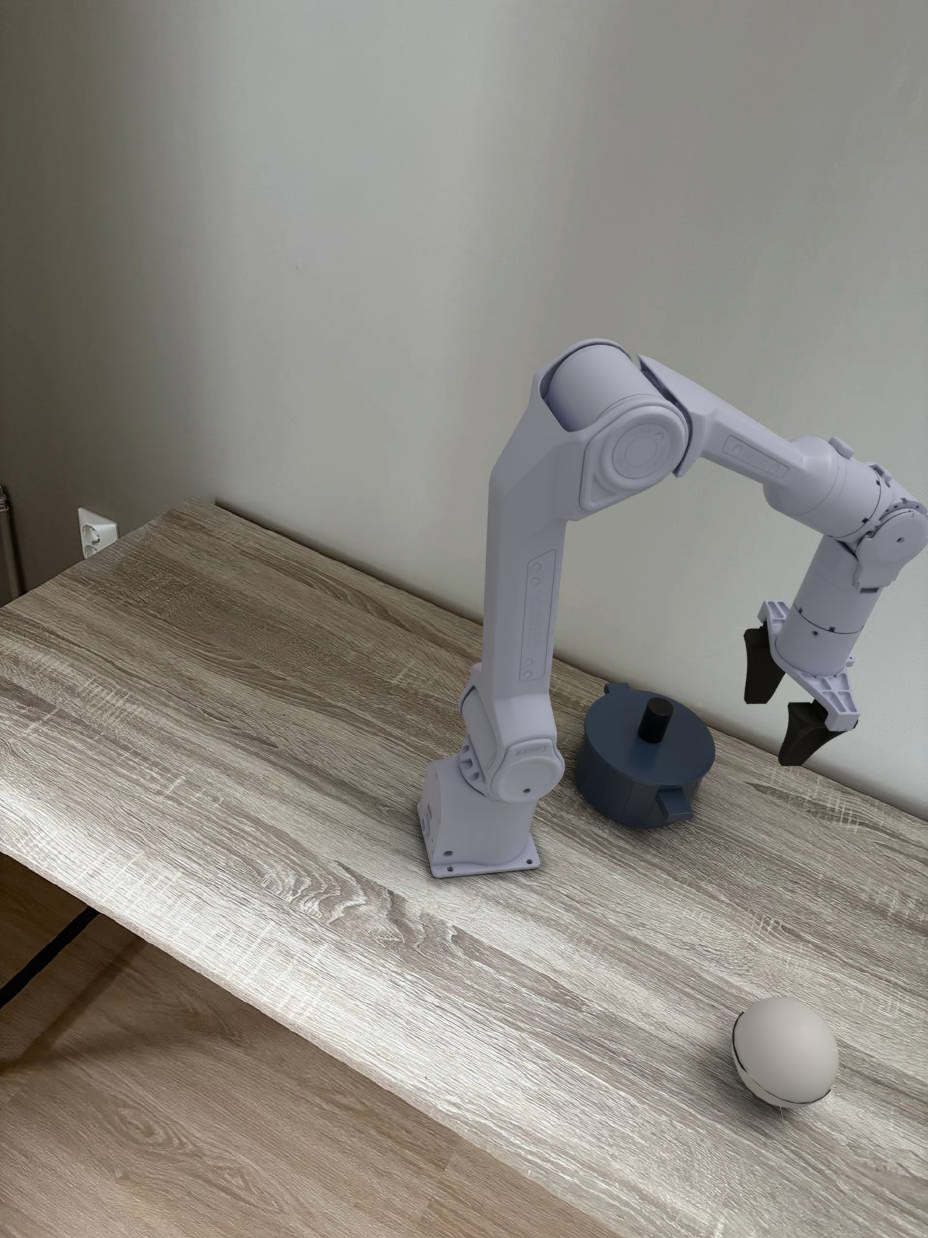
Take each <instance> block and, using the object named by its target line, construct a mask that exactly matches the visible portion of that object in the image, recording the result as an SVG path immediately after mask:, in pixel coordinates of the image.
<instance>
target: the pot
mask: <svg viewBox="0 0 928 1238" xmlns="http://www.w3.org/2000/svg"><path fill="white" fill-rule="evenodd" d="M620 690H632V688H631V685H630V684H629V682H627V681H626V682H606V683H605V684H604V688H603V693H604V695H606V694H608V693H611V692H615V691H620ZM583 732H584V733H583V736H582V739H581V742H580V745H579V747H578V751H577V754H576V759H575V766H574V777H575V782H576V785H577V787H578V790H579V792H580V794H581V795H582V796H583V798H584V799H585V800H586V801H587V802H588V804H590V806H591V807H593V809H595V810H596V811H597V812H599V813H600V814H602V815H604V816H605V817H607V818H608V819H610V820H612V821H614V822H617V823H619V824H621V825H624V826H628V827H633V828H638V829H658V828H664V827H667V826H671V825H672V824H674V823H676V822H682V821H683V822H684V821H691V820H692V818H693V816H694V810H693V808H692V806H691V805H692V803H693V802H694V800H695V797H696V795H697V792H698V790H699V788H700V785H701V783H702V781H703V778H704V777H703V778H702V779H700V780H699V781H697V782H695V783H693V784H690V785H687V786H683V787H677V788H657V787H651V786H646V785H643V784H639V783H636V782H634V781H631V780H629V779H627V778H625V777H623V776H621V775H619V774H617V773H616V772H614V771H613V770H611V769H610V768H609V767H607V766H606V765H605V764H604V763H603V762H602V761H601V760H600V759H599V758H598V757H597V756H596V755H595V754H594V752H593V751H592V749H591V748H590V746H589V744H588V742H587V739H586V736H585V731H583Z"/></svg>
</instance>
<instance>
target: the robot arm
mask: <svg viewBox="0 0 928 1238" xmlns="http://www.w3.org/2000/svg"><path fill="white" fill-rule="evenodd" d="M635 356H636V357H637V360H638V362H639V366H640V369H639V368H638V366H637V365H636V364H635V363H634V362H633V360H632V358H631V355H630V354H629V353H628V351H626V349H625V348H624V346H621V344H619V343H617V342H616V341H614V340H612V339H611V340H610V339H607V338H602V337H594V338H587V339H583V340H580V341H577V342H575V343H573V344H572V345H570V346H569V347H567V348H566V349H564V350H563V351H561V352H560V353H559V354H558V355H557V356H556V357H554V358H552V360H551V361H549V362H548V363H546V364H545V365H544V366H542V368H541V369H539V370H538V371H537V372H535V373H534V374H533V377H532V382H531V387H530V393H529V398H528V399H529V400H528V403H527V404H528V405H527V407H526V409H525V411H524V412H523V414H522V415H521V417H520V419H519V421H518V422H517V425H516V426H515V428H514V430H513V432H512V433H511V435H510V437H509V439H508V440H507V442H506V444H505V446H504V447H503V449H502V451H501V453H500V455H499V457H498V458H497V460H496V462H495V464H494V466H493V467H492V469H491V472H490V476H489V479H488V494H487V495H488V496H487V519H486V520H487V521H486V545H485V567H484V569H485V570H484V593H483V621H482V642H481V643H482V645H481V661H480V662H477V663H475V664H472V665H471V666H470V674H469V681H468V683H467V685H466V686H465V688H464V690H463V691H462V693H461V694H460V697H459V699H458V706H457V707H458V708H457V709H458V714H459V715H460V717H461V721H463V722H464V725H465V728H466V732H465V739H464V741H463V744H462V746H461V749H460V750H459V751H457V752H456V753H454V754H452V755H450V756H446V757H444V758H440V759H435V760H430V761H429V762H428V763H427V765H426V767H425V774H424V779H423V786H422V791H421V795H420V801H419V802H418V803H417V805H416V811H417V816H418V819H419V823H420V827H421V832H422V836H423V841H424V844H425V848H426V849H425V850H426V854H427V857H428V861H429V866H430V871H431V874H432V876H433V877H434V878H438V879H439V878H450V877H451V878H452V877H461V876H470V875H471V876H472V875H482V874H483V875H484V874H492V873H503V872H513V871H514V872H515V871H525V870H535V869H538V868H540V866H541V859H540V856H539V853H538V850H537V848H536V844H535V841H534V839H533V836H532V832H531V827H532V824H533V820H534V817H535V813H536V810H537V806H538V802H539V800H540V799H541V798H543V797H544V796H546V795H547V794H549V793H550V792H551V791H552V790H553V789H554V788H556V787H557V785H558V784H559V783H560V781H561V780H562V779H563V777H564V773H565V769H566V763H565V759H564V757H563V755H562V754H561V751H560V750H559V749H558V747H557V741H558V740H557V739H558V731H557V727H556V721H555V717H554V711H553V707H552V703H551V698H550V697H551V696H550V685H551V676H552V667H553V656H554V646H555V635H556V627H557V616H558V607H559V598H560V597H559V596H560V588H561V578H562V567H563V559H564V549H565V540H566V531H567V523H568V521H571V522H579V521H580V520H584V519H585V518H587V517H590V516H592V515H594V514H597V513H598V512H601V511H603V510H605V509H608V508H609V507H610V508H611V507H612V506H614V505H616V504H619V503H621V502H623V501H625V500H627V499H630V498H632V497H634V496H637V495H639V494H641V493H644V492H645V491H647V490H649V489H651V488H653V487H654V486H656V485H658V484H659V483H661V482H662V481H664V480H666V478H667V477H668V476H669V475H670V474H672V476H674V477H675V478H676V479H678V478H679V479H680V478H683V477H684V476H685V475H686V474H687V473H688V472H689V470H691V468H692V467H693V466H694V464H695V463H696V462H697V460H698V459H699V458H702V459H705V460H707V461H709V462H711V463H713V464H716V465H718V466H720V467H723V468H725V469H728V470H730V471H732V472H734V473H736V474H739V475H740V476H742V477H743V476H744V477H746V478H747V479H750V480H752V481H755V482H757V483H759V484H761V485H762V491H763V495H764V499H765V501H766V503H767V504H768V506H770V508H772V509H773V510H774V511H776V512H778V513H780V514H782V515H784V516H785V517H788V518H790V519H792V520H794V521H796V522H798V523H800V524H802V525H804V526H805V527H808V528H809V529H811V530H814V531H816V532H818V533H819V534H822V536H821V539H820V542H819V543H818V546H817V548H816V550H815V553H814V554H813V557H812V560H811V561H810V564H809V566H808V568H807V570H806V572H805V575H804V577H803V580H802V582H801V583H800V586H799V588H798V591H797V593H796V595H795V597H794V599H793V602H792V603H791V606H788V604H787V603H786V601H785V600H780V599H779V600H777V599H776V600H774V599H773V600H771V599H770V600H769V599H764V600H763V602H762V603H761V606H760V609H759V611H758V612H757V613H758V614H757V617H756V618H757V619H758V621H759V623H761V624H762V625H760V626H759V627H751V628H747V629H746V630H745V631H744V633H743V635H742V637H743V640H744V645H745V651H746V674H745V683H744V691H743V692H744V693H743V701H744V703H745V705H767V704H768V703H769V702H770V700H771V699H772V698H773V696H774V694H775V693H776V691H777V689H778V688H779V686H780V683H781V682H782V680H783V678H784V677H785V675H788V676H789V678H791V679H792V680H793V681H794V682H796V683H797V684H798V685H799V686H800V687H801V688H802V689H803V690H804V691H806V693H808V694H809V695H810V696H811V697H812V698H813V700H812V701H811V702H810V701H789V702H788V703H787V715H788V716H787V719H788V720H787V721H788V722H787V728H786V732H785V736H784V738H783V741H782V743H781V746H780V749H779V751H778V756H777V762H778V763H779V766H781V767H801V766H803V764H805V763H806V762H807V761H808V760H809V759H810V758H811V757H812V756H813V755H814V754H815V753H816V752H817V751H818V750H819V749H821V748H822V747H823V746H824V745H826V744H827V743H829V742H830V741H832V740H834V739H835V738H837V737H839V736H841V735H843V734H845V733H847V732H851V731H853V730H854V729H856V727H857V725H858V723H859V717H860V716H861V712H860V710H859V708H858V706H857V705H856V703H855V700H854V696H853V691H852V687H851V683H850V677H849V672H848V668H851V667H853V665H854V664H855V661H856V659H855V656H854V655H853V653H852V651H853V649H854V647H855V645H856V643H857V641H858V640H859V637H860V635H861V633H862V631H863V629H864V627H865V626H866V623H867V622H868V619H869V617H870V616H871V614H872V612H873V609H874V608H875V606H876V604H877V602H878V600H879V598H880V596H881V595H882V592H883V590H884V588H886V587H887V588H888V587H889V586H890V585H891V584H892V582H896V580H897V578H898V576H899V574H900V573H901V571H902V569H903V568H904V567H905V566H906V565H907V564H908V563H909V562H911V561H912V560H913V559H915V558H916V557H917V556H918V555H919V554H921V552H922V551H923V550H924V549H925V548H926V546H927V545H928V510H927V507H926V506H925V505H924V504H923V503H921V502H920V501H919V499H917V498H916V497H915V496H913V494H912V493H910V492H909V491H908V489H906V488H905V487H904V486H903V485H901V484H900V483H899V482H898V481H897V480H896V479H895V478H894V477H893V474H892V473H891V472H890V471H889V470H887V469H886V467H883V466H882V465H880V464H879V463H878V462H876V461H859V460H858V459H856V458H855V457H854V456H853V455H855V449H853V448H852V447H851V446H850V445H849V444H848V443H847V442H846V441H844V439H843V440H842V439H841V438H839V437H837V436H836V435H832V437H830V439H828V441H826V440H824V439H822V438H820V437H818V436H815V435H802V436H797V437H794V438H793V439H791V440H786V439H785V438H783V437H782V436H780V435H778V434H777V433H775V432H774V431H773V430H771V429H769V428H767V427H766V426H765V425H763V424H761V423H759V422H758V421H756V420H755V419H753V418H751V417H750V416H749V415H747V414H745V413H744V412H743V411H741V410H739V409H738V408H736V407H734V406H733V405H732V404H729V403H728V402H727V401H725V400H724V399H722V398H720V397H719V396H718V395H715V394H714V393H712V392H711V391H709V390H708V389H707V388H705V387H703V386H702V385H700V384H698V383H697V382H695V381H693V380H692V379H690V378H688V377H686V376H684V375H682V374H681V373H679V372H677V371H675V370H673V369H672V368H670V367H668V366H666V365H665V364H662V363H661V362H659V361H658V360H656V359H653V358H651V357H650V356H648V355H647V356H646V355H643V354H640V353H636V355H635ZM449 870H450V871H449Z"/></svg>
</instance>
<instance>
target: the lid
mask: <svg viewBox="0 0 928 1238" xmlns="http://www.w3.org/2000/svg"><path fill="white" fill-rule="evenodd" d="M583 730H584V731H583V732H585V736H586V739H587V742H588V744H589V746H590V748H591V749H592V751H593V752H594V754H595V755H596V756H597V757H598V758H599V759H600V760H601V761H602V762H603V763H604V764H605V765H606V766H607V767H609V768H610V769H611V770H613V771H614V772H616V773H617V774H619V775H621V776H623V777H625V778H627V779H629V780H631V781H634V782H636V783H639V784H643V785H646V786H651V787H657V788H677V787H683V786H687V785H690V784H693V783H695V782H697V781H699V780H700V779H702V778H704V777H705V776H706V775H708V773H709V772H710V770H711V769H712V767H713V765H714V763H715V758H716V750H717V749H716V743H715V739H714V737H713V734H712V732H711V731H710V729H709V727H708V726H707V724H706V723H705V722H704V721H703V720H702V718H700V716H698V715H697V714H696V713H695V712H694V711H693V710H691V709H690V708H689V707H687V706H685V705H684V704H683V703H681V702H679V701H677V700H675V699H674V698H671V697H669V696H666V695H663V694H661V693H657V692H654V691H649V690H641V689H631V690H620V691H615V692H611V693H608V694H606V695H605V694H603V695H602V696H600V697H599V698H598V699H596V700H594V702H593V703H592V704H591V705H590V707H589V708H588V710H587V712H586V715H585V717H584V722H583ZM702 780H703V779H702Z"/></svg>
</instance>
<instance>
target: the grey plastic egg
mask: <svg viewBox="0 0 928 1238" xmlns="http://www.w3.org/2000/svg"><path fill="white" fill-rule="evenodd" d="M838 1047H839V1046H838V1042H837V1040H836V1037H835V1034H834V1032H833V1030H832V1028H831V1026H830V1025H829V1023H828V1022H827V1021H826V1020H825V1018H824V1017H823V1015H821V1014H820V1013H819V1012H818V1011H817V1010H816V1009H814V1008H813V1007H812V1006H810V1005H809V1004H807V1003H805V1002H803V1001H802V1000H799V999H795V998H792V997H788V996H771V997H765V998H763V999H760V1000H758V1001H756V1002H753V1003H752V1004H751V1005H750V1006H749V1007H748V1008H747V1009H746V1010H745V1011H741V1012H740V1014H738V1016H737V1018H736V1019H735V1022H734V1024H733V1027H732V1033H731V1055H732V1059H733V1061H734V1064H735V1067H736V1070H737V1073H738V1076H739V1077H740V1078H741V1080H742V1081H743V1083H744V1085H745V1086H746V1088H748V1089H749V1090H750V1092H752V1093H753V1094H754V1095H755V1096H756V1097H757V1098H759V1099H761V1100H762V1101H764V1102H765V1103H767V1104H769V1105H773V1106H776V1107H780V1109H782V1108H786V1109H796V1108H799V1109H800V1108H806V1107H808V1106H810V1105H812V1104H814V1103H817V1102H820V1100H822V1099H824V1098H825V1097H827V1096H828V1095H829V1094H830V1092H831V1091H832V1089H831V1088H832V1087H833V1086H834V1083H835V1080H836V1078H837V1074H838V1070H839V1067H840V1056H839V1048H838ZM780 1112H781V1113H780V1114H781V1117H782V1123H783V1124H785V1120H784V1115H783V1111H782V1110H780ZM783 1129H784V1134H785V1138H786V1140H787V1139H788V1136H787V1132H786V1127H785V1125H783Z"/></svg>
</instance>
